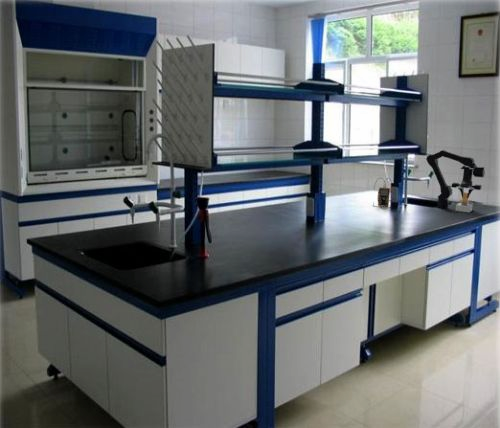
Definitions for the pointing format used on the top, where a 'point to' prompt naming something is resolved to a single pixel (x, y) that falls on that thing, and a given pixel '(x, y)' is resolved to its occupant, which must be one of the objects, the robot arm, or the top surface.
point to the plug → (465, 199)
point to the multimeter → (383, 195)
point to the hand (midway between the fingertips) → (465, 198)
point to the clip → (475, 202)
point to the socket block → (464, 207)
